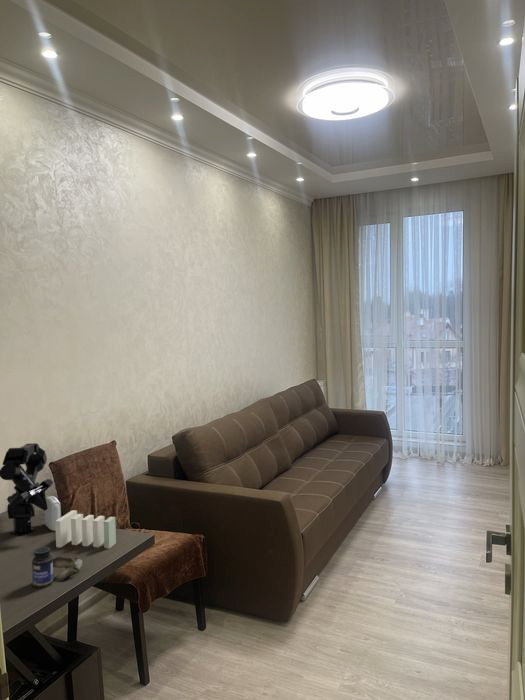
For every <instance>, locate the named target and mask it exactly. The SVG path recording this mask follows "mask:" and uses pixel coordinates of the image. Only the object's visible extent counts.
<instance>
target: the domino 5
mask: <svg viewBox="0 0 525 700" xmlns="http://www.w3.org/2000/svg"><path fill="white" fill-rule="evenodd" d="M116 524H117V523H116V517H115V516H109V517H108V518H106V519H105V521H104V543H103V547H104V549H110V548H112V547H113V546H114V545H115V544H116V543H117V534H116V533H117V531H116V529H117V528H116Z"/></svg>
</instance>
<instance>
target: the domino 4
mask: <svg viewBox="0 0 525 700" xmlns="http://www.w3.org/2000/svg"><path fill="white" fill-rule="evenodd" d="M105 520H106V519H105V515H99V516H97V517H96V518H94V520H93V542H92V543H93V544H92V546H93V548H100V547H101V546H102V545H104V521H105Z"/></svg>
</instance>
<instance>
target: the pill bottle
mask: <svg viewBox="0 0 525 700" xmlns="http://www.w3.org/2000/svg"><path fill="white" fill-rule="evenodd" d="M50 548H51V547H47V546H41V547H38V548H36V549H35V550H34V552H33V553H34V557H33V558H32V561H31V564H32V565H31V570H32V573H31V575H32V586H33V587H34V588H37V589H38V588H40V589H41V588H46V587H48V586H51V585H52V584H53V583H54V581H53V579H54V567H53V559H54V558H53V556H52V554H51V549H50Z"/></svg>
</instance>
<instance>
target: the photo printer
mask: <svg viewBox="0 0 525 700" xmlns="http://www.w3.org/2000/svg"><path fill="white" fill-rule="evenodd" d="M45 497H46V503H47V508H48V509H47V510H45V511H44V522H45V523H44V525H45V526H46V527H47V528H48V529H49V530H50V531H52V532H56V524H55V521H56V520H57V519H59V518H61V517H62V508H61V507H62V506H61V502H60V500H58V498H57V497H56V496H53V495H50V496H45Z"/></svg>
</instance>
